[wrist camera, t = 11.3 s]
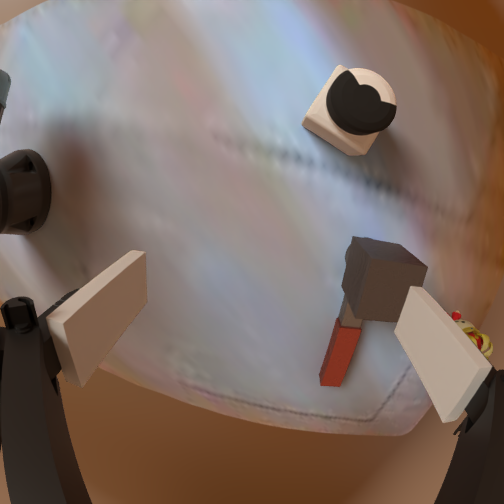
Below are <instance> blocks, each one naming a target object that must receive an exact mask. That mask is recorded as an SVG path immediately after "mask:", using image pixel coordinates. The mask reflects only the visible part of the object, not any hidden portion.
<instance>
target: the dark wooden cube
mask: <svg viewBox="0 0 504 504" xmlns="http://www.w3.org/2000/svg"><path fill="white" fill-rule="evenodd" d="M427 269H428V267H427V266H426V265H425V264H424V263H422V262H421V261H420V260H419V259H418V258H416V257H415V256H414V255H413V254H411V253H410V252H409V251H408V250H406V249H405V248H404V247H403V246H401V245H400V244H396V243H390V242H384V241H379V240H373V239H367V238H361V237H355V236H353V237H352V242H351V246H350V251H349V256H348V260H347V264H346V269H345V273H344V277H343V281H342V285H341V286H342V289H343V291H344V293H345V296H346V298H347V300H348V303H349V305H350V308H351V310H352V313H353V315H354V317H355V319H363V320H374V321H385V322H398V320H399V318H400V315H401V312H402V309H403V307H404V304H405V301H406V298H407V295H408V292H409V289H410V286H415V287H422V285H423V282H424V278H425V275H426V272H427Z"/></svg>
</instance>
